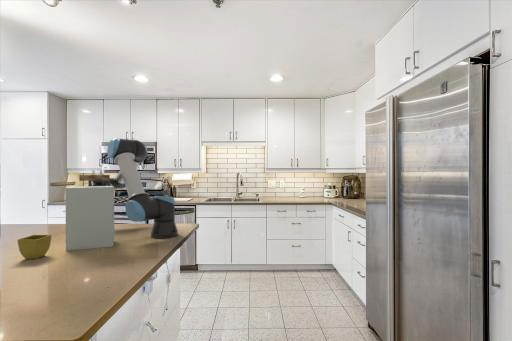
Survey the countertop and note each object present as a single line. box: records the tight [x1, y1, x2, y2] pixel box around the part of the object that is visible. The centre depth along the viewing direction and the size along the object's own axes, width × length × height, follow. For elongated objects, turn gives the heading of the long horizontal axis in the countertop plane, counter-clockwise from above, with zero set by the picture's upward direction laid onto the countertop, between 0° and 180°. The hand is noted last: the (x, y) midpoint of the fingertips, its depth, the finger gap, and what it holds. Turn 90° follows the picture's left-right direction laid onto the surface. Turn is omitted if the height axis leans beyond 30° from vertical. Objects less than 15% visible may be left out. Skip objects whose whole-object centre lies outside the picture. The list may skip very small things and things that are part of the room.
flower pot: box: [16, 234, 52, 260], centre depth 125 cm, size 9×9×9 cm
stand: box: [65, 185, 115, 252], centre depth 143 cm, size 20×10×30 cm, turn 112°
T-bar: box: [78, 173, 111, 182], centre depth 163 cm, size 14×21×3 cm, turn 22°
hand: (96, 172), depth 161 cm, fingers closed on T-bar, 3 cm apart
